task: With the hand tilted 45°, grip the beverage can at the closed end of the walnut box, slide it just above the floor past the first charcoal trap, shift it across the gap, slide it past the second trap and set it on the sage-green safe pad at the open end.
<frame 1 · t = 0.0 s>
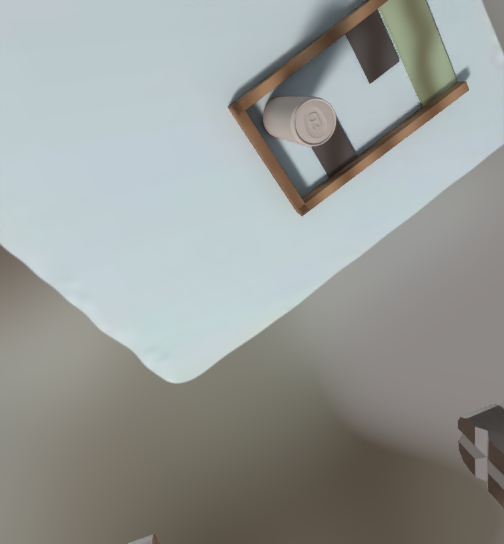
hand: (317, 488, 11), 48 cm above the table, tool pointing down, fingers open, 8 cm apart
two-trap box: (353, 95, 56), on the table
beverage can: (279, 117, 55), resting in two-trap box
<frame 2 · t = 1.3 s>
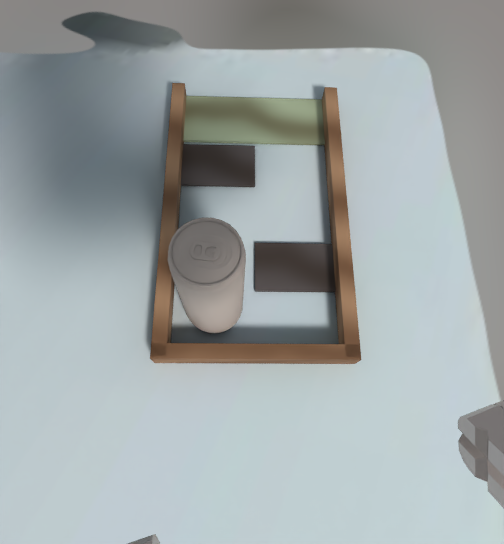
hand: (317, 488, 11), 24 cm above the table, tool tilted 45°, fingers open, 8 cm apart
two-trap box: (254, 210, 41), on the table
beverage can: (214, 308, 38), resting in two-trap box
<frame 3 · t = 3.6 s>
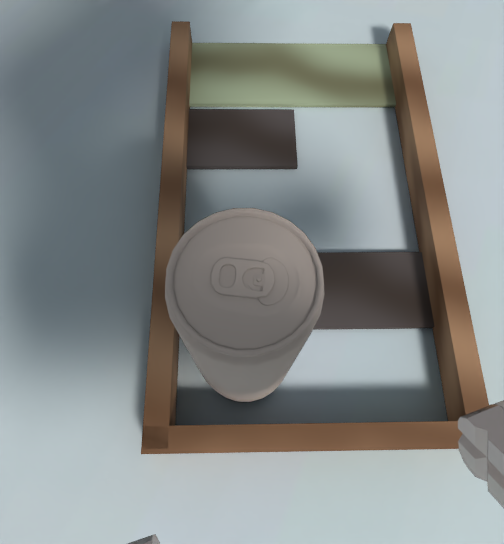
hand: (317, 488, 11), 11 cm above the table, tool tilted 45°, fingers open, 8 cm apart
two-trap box: (298, 203, 27), on the table
beverage can: (243, 357, 24), resting in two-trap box
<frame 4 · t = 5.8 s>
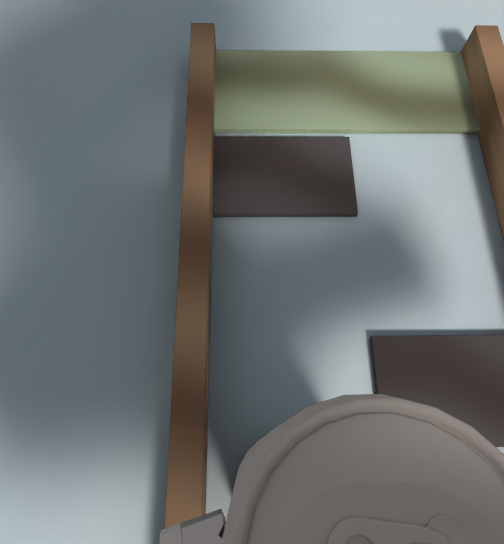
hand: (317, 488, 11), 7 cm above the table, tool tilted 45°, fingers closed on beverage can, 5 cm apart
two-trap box: (361, 263, 21), on the table
beverage can: (296, 490, 17), resting in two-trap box, touching gripper
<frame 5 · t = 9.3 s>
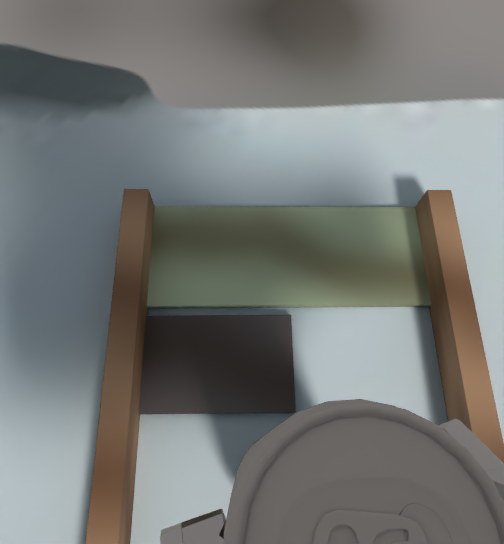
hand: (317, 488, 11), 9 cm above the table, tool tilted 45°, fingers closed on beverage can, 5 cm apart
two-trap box: (297, 472, 19), on the table
beverage can: (293, 488, 18), point 1 cm above the table, touching gripper
when the fingers open (8 cm above the table, at t = 13.1 s): beverage can stays where it is, resting on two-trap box.
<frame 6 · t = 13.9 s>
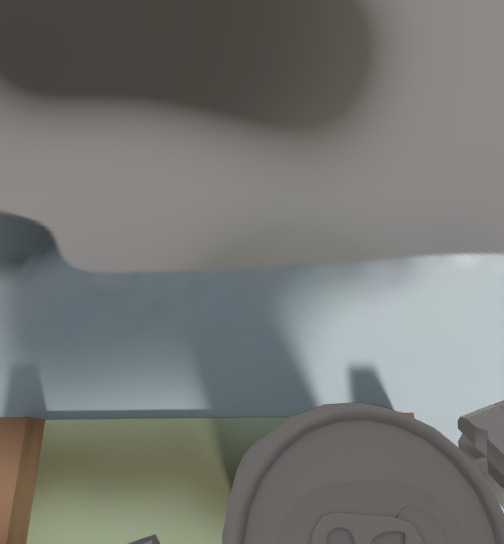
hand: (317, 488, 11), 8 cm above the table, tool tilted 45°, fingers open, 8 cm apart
beverage can: (292, 489, 18), resting on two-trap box
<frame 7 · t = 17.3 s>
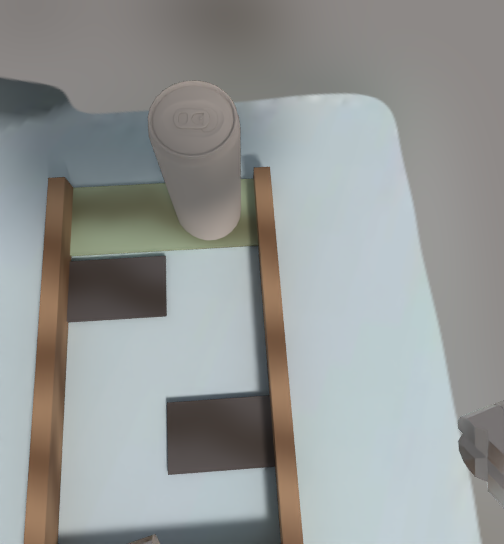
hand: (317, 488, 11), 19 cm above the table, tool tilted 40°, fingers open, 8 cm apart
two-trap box: (167, 351, 31), on the table
beverage can: (209, 214, 34), resting on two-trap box
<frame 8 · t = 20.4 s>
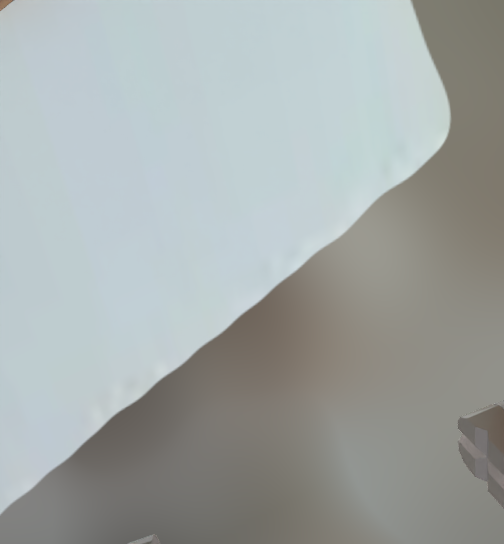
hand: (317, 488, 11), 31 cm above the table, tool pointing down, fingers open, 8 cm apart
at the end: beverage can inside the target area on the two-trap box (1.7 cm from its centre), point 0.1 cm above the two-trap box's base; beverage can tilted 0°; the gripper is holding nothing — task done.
